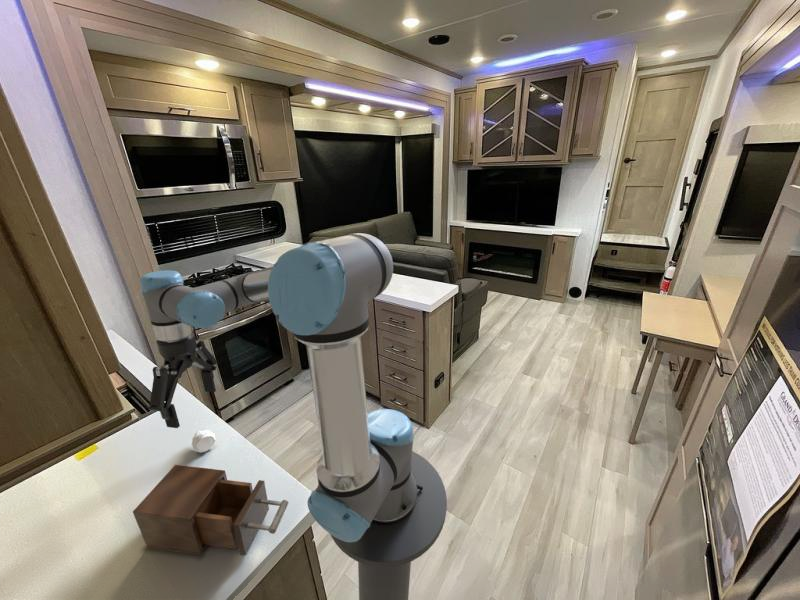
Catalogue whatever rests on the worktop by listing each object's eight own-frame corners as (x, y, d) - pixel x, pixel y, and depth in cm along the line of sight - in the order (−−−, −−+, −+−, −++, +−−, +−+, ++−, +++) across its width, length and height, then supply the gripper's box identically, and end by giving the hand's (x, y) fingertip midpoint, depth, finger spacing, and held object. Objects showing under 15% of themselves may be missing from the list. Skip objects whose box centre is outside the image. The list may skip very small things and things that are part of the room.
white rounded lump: (209, 434, 91) (206, 419, 89) (218, 445, 88) (214, 430, 86) (188, 445, 87) (184, 430, 85) (196, 457, 84) (192, 441, 82)
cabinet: (233, 504, 72) (225, 470, 68) (201, 555, 62) (190, 519, 59) (185, 498, 73) (175, 464, 69) (147, 547, 63) (132, 511, 60)
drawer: (294, 512, 70) (290, 483, 67) (274, 559, 61) (268, 529, 58) (224, 503, 72) (217, 475, 68) (195, 548, 63) (186, 518, 60)
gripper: (197, 313, 87) (211, 378, 95) (110, 362, 64) (138, 443, 72) (223, 315, 86) (234, 380, 94) (145, 366, 63) (169, 446, 71)
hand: (193, 407), depth 83 cm, fingers open, 13 cm apart
